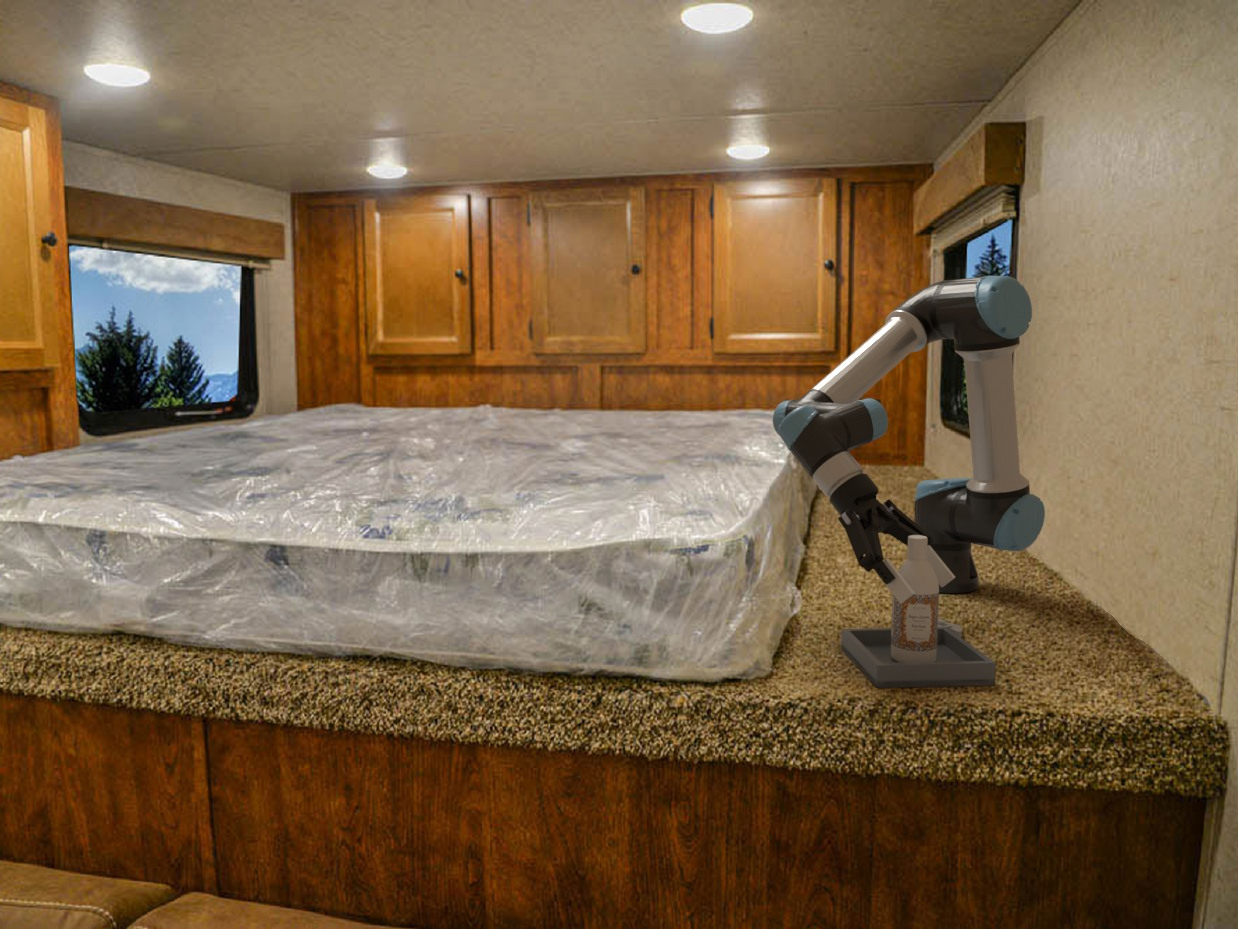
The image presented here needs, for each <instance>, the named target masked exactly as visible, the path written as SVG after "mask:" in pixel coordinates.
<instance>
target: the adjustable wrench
mask: <svg viewBox="0 0 1238 929" xmlns="http://www.w3.org/2000/svg"><path fill="white" fill-rule="evenodd" d="M938 627H947V628H948V629H950V630H951V631H953V632H954V633H955V634H957V635H958V636H959V637H961V638H962V636H963V629H962V625H961V624H957V623H956V624H954V623H951V622H948V621H945V620H943V619H942V618H941V617H940V616H939V615H938Z"/></svg>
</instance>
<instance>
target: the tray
mask: <svg viewBox="0 0 1238 929" xmlns="http://www.w3.org/2000/svg"><path fill="white" fill-rule="evenodd" d="M891 628H892V627H886V628H885V627H879V628H877V627H875V628H872V627H871V628H841V641H840V642H841V644H840V649H841V651H842V652H843V653H844V655H846V657H847V658H848V659H850V661H851V662H852V663H853V664H854V665H855V666H856V667H857V668H858V669H859V670H860V672H862V674H863V675H864V676H865V677H866V679H868V680H869V681H870V682H871V684H872V686H874V687H875V688H876V689H890V688H891V689H892V688H894V689H895V688H897V689H898V688H900V689H901V688H937V687H939V688H941V687H942V688H943V687H949V688H950V687H983V686H984V687H986V686H990V687H991V686H996V664H997V663H996V662H995V661H994V660H993V659H991V658H990V657H988V656H987V655H986V654H984V653H983V652H981V651H980V650H979V649H977V648H976V647H974V645H972V644H971V643H969V642H968V641H966V640H965V639H964V638H962V637H959V636H958V635H957V634H955V633H954V632H953V631H951V630H950V629H948V628H947V627H938V632H937V655H936V661H935V662H907V663H899V662H897V661H895V660H894V659H893V658H892V657H891Z"/></svg>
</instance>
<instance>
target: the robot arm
mask: <svg viewBox="0 0 1238 929" xmlns="http://www.w3.org/2000/svg"><path fill="white" fill-rule="evenodd" d="M1032 317H1033V306H1032V301H1031V299H1030V295H1029V293H1028V291H1027V290H1026V288H1025V286H1024V285H1023V284H1021V283H1020V282H1019V281H1018V280H1017V279H1016V278H1015V277H1012V276H1009V275H985V276H977V277H968V278H960V279H945V280H940V281H937V282H935V283H932V284H930V285H928V286H925V287H923V288H921V289H920V290H919V291H917V292H916V293H914V294H913V295H911V296H910V297H908V298H906V299H905V300H904V301H903V302H902V303H900V304H899V305H898V306H896V307H895V308H894V309H893V310H892V311H891V312H890V313H889V314H888V315H886V318H885V320H884V324H883V325H882V327H880V328H879V329H878V330H877V331H875V333H873V334H872V335H871V336H870V337H869V338H868V339H867V340H865V342H863V343H862V344H860V346H859V347H857V348H856V349H855V350H854V351H853V352H851V353H850V354H849V355H848V356H847V357H845V359H843V361H841V362H840V363H839V364H838V365H837V366H836V367H834V369H832V370H831V371H830V372H829V373H828V374H827V375H825V376H824V377H823V378H822V379H821V380H820V381H818V382H817V383H816V384H815V385H814V386H813V387H812V388H810V390H808V391H806V392H805V394H803V395H802V396H801V397H800V398H799V399H797V400H796V399H789V400H784V401H781V402H780V403H779V404H778V405H777V406H776V408H775V409H774V412H773V415H772V425H773V429H774V431H775V432H776V434H777V435H778V436H779V437H780V438H781V440H782V441H783V443H784V445H785V446H786V447H787V449H788V451H790V453H791V454H792V455H793V457H794V458H795V459H796V460H797V461H798V462H799V464H800V465H801V466H802V467H803V469H804V470H805V471H806V473H807V474H808V475H809V476H810V478H811V479H812V480H813V481H814V482H815V484H816V485H817V486H818V487H817V488H818V489H819V491H821V492H823V494H824V495H825V497H826V498H829V502H830V504H831V505H832V506H833V508H834V509H835V510H836V512H837V513H838V514H839V517H838V522H839V523H840V524H841V526H842V527H843V528H844V530H845V533H846V536H847V537H848V540H849V543H850V545H851V548H852V550H853V554H854V555H855V558H856V561H857V563H858V564H859V566H860V567H861V568H863V569H864V570H865V571H866V572H867V573H869V572H871V571H873V570H874V571H875V572H876V574H877V576H878V577H879V578H880V579H881V580H882V582H883V583H884V584H885V586H886V587H887V589H888V590H889V591H890V592H891V593H892V596H893V595H894V596H895V597H896V599H897V600H898V601H899V603H900V604H902V603H904V602H905V601H906V600H907V599H909V598H910V597H911V596H912V595H913V594H915V592H914V591H913V590H912V588H911V587H910V586H909V585H908V583H907V582H906V581H905V579H904V578H903V577H902V576H901V574H900V573H899V572H898V571H899V569H897V568H896V567H895V565H894V564H893V563H892V561H891V560H890V559H889V558H885V559H884V555H883V550H882V546H881V540H880V536H879V534H880V533H881V534H883V535H890V536H891V537H893V538H894V539H896V541H899V542H900V543H902V544H904V545H905V546H906V547H908V536H910V535H922V536H926V537H927V538H928V542H927V561H928V563H929V564H930V566H931V567H932V569H933V571H934V573H935V574H936V577H937V580H938V584H939V593H943V594H945V593H946V594H961V593H963V594H964V593H969V592H970V593H971V592H974V591H976V590H978V589H979V582H980V581H979V580H980V578H979V574H978V571H977V568H976V567H977V566H976V564H975V560H974V557H973V552H972V544H973V545H978V546H983V547H987V548H990V549H991V548H992V549H995V550H997V551H1009V552H1021V551H1024V550H1027V549H1028V548H1030V547H1031V546H1032V545H1033V544H1034V542H1035V541H1036V540H1037V539H1038V537H1039V535H1040V533H1041V531H1042V529H1043V527H1044V523H1045V517H1046V516H1045V515H1046V510H1045V505H1044V502H1043V501H1042V500H1041V498H1040V497H1038V496H1037V495H1035V494H1033V493H1031V492H1030V482H1029V479H1028V478H1026V477H1025V476H1024V475H1022V473H1021V470H1020V469H1021V468H1020V454H1019V438H1018V425H1017V410H1016V408H1017V407H1016V397H1015V396H1016V395H1015V394H1016V393H1015V384H1014V383H1015V380H1014V368H1013V367H1014V366H1013V365H1014V364H1013V352H1014V351H1016V349H1017V348H1018V347H1019V346H1020V344H1021V343H1020V342H1021V341H1020V337H1021V336H1023V335H1024V334H1026V332H1027V331H1028V330H1029V327H1030V322H1031V321H1032ZM941 340H953V343H954V352H955V353H956V354H958V356H960V357H962V359H963V362H964V374H965V385H966V386H965V387H966V388H965V389H966V398H967V402H966V403H967V412H968V423H969V424H968V426H969V437H970V439H969V440H970V448H971V451H970V452H971V462H972V464H971V465H972V475H973V476H972V477H971V478H970V477H956V478H951V477H950V478H939V479H938V478H937V479H927V480H922V481H920V482H919V483H918V484H917V485H916V488H915V489H916V490H915V497H914V517H913V518H914V520H913V519H911V518H910V517H909V516H908V515H907V514H905V513H904V512H903V511H902V510H900V509H899V508H898V507H897V505H896V504H895V503H894V502H893V501H892V500H891V499H887V500H886V501H885V502H883V503H881V502H880V501H879V500H878V499H877V495H878V494H879V488H878V486H877V485H876V484H875V483H874V481H873V480H872V479H871V477H870V476H869V475H868V474H867V473H864V468H863V467H862V466H861V465H860V463H858V461H857V460H856V459H855V458H854V456H853V455H852V454H851V452H850V451H851V450H853V449H856V448H859V447H861V446H864V445H867V444H871V443H872V442H873V441H875V440H877V439H879V438H881V437H883V436H884V435H885V434H886V432H887V430H888V427H889V418H888V413H887V410H886V409H885V407H884V405H883V404H882V403H880V401H878V400H876V399H874V398H870V397H867V398H864V399H860V398H862V397H863V395H866V393H867V392H868V391H870V390H871V389H872V388H873V387H874V386H875V385H876V384H877V383H878V382H879V381H880V380H881V379H883V378H884V377H885V376H886V375H887V374H888V373H889V372H890V371H892V370H893V369H894V368H895V367H897V365H898V364H900V363H901V362H902V361H903V360H904V359H905V358H906V357H907V356H908V355H909V354H911V353H915V352H916V353H917V352H919V351H922V349H924V348H925V347H926V346H927V345H929V344H931V343H934V342H937V341H941Z"/></svg>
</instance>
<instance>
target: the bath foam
mask: <svg viewBox="0 0 1238 929" xmlns="http://www.w3.org/2000/svg"><path fill="white" fill-rule="evenodd" d="M927 542H928V538H927V537H926V536H922V535H910V536H908V546H907V551H906V552H907V554H906V555H907V558H906V560H905V561H904V563H902V565H901V566H900V568H899V569H898V572H899V573H900V574H901V576H902V577H903V578H904V579H905V581H906V582H907V583H908V585H909V586H910V587H911V588H912V590H913V591H914V592H915V594H913V595H912V596H911V597H910V598H909V599H907V600H906V601H905V602H904V603H902V604H900V603H899V601H898V600H897V599H896V597H895V596H894V595H893V594H892V599H891V600H892V603H891V604H892V605H891V627H890V628H891V657H892V658H893V659H894V660H895V661H897V662H899V663H907V662H935V661H936V655H937V632H938V616H939V608H940V607H939V604H940V592H939V584H938V580H937V577H936V574H935V573H934V571H933V569H932V567H931V566H930V564H929V563H928V561H927Z"/></svg>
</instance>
